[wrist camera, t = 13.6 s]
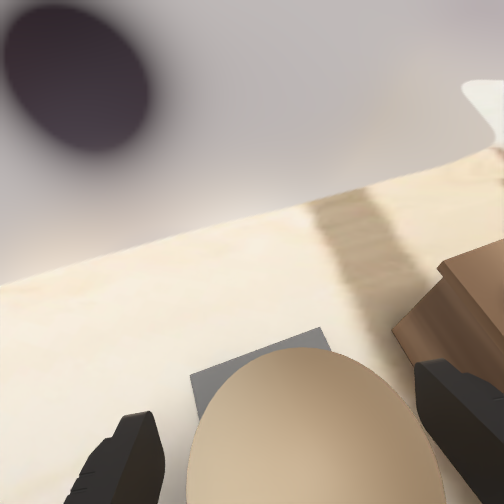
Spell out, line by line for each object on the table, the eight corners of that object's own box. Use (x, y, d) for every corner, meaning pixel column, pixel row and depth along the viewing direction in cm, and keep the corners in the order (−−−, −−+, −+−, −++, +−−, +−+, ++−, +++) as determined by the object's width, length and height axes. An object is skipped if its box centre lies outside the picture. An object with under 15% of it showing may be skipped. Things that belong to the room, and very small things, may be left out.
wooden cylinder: (276, 521, 14) (264, 766, 4) (236, 430, 16) (152, 419, 5) (349, 469, 15) (512, 546, 4) (302, 389, 16) (336, 310, 6)
